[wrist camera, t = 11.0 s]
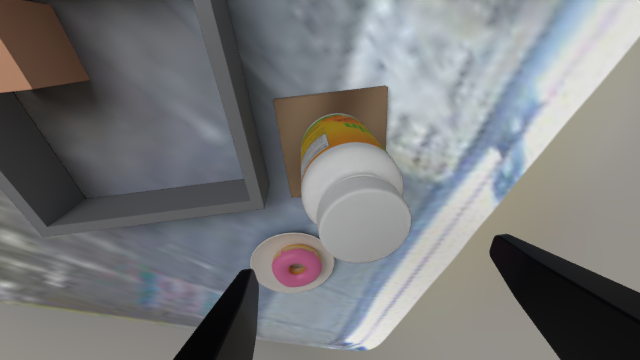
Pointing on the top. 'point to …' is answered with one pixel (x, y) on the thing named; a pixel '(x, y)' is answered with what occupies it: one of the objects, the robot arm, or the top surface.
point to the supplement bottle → (352, 190)
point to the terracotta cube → (35, 48)
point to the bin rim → (142, 207)
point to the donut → (291, 262)
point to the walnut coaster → (309, 108)
